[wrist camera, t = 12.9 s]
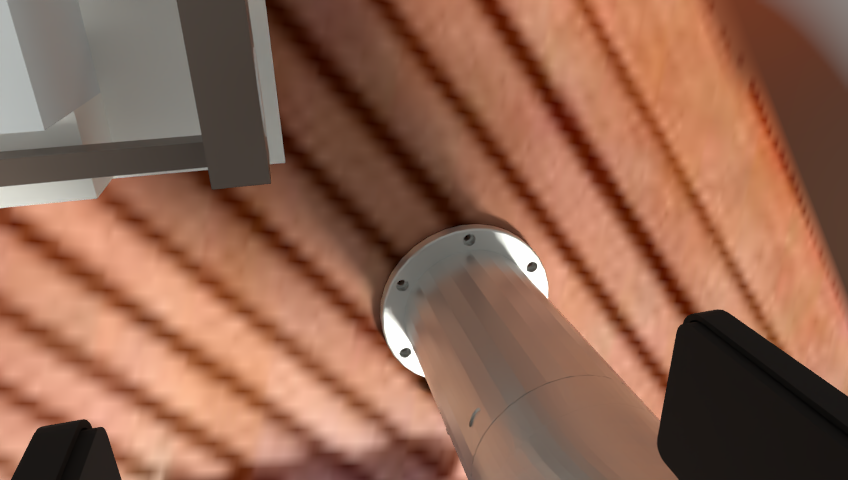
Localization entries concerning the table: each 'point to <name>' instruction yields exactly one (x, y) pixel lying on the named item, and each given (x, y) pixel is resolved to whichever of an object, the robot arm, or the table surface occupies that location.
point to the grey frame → (216, 106)
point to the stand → (104, 82)
